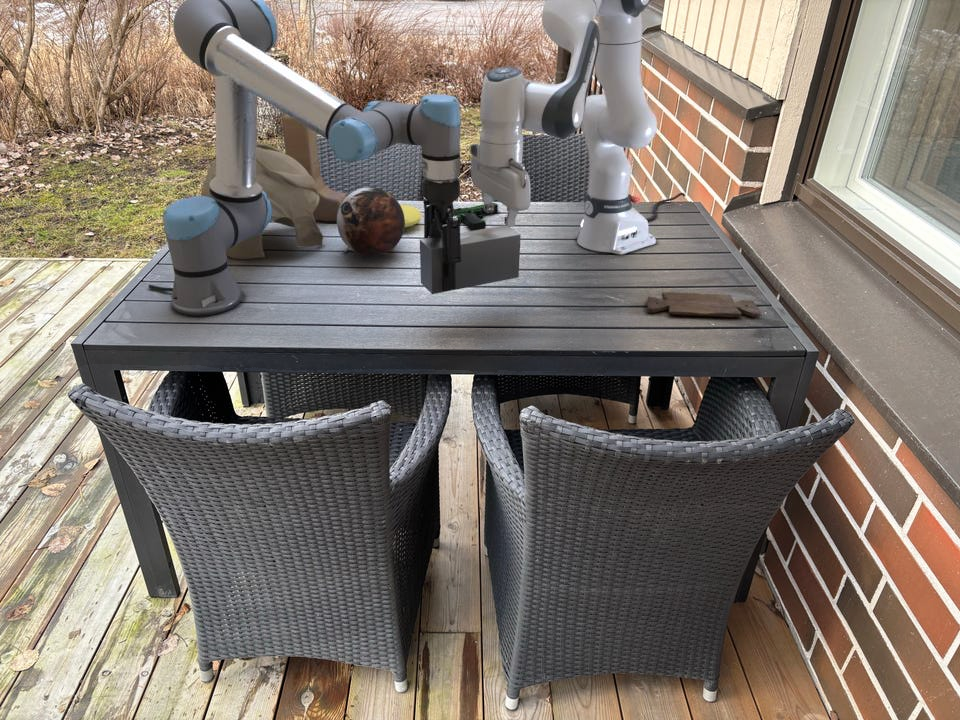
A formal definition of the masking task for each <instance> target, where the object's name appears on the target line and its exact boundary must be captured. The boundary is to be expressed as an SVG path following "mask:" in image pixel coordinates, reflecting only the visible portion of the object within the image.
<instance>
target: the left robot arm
mask: <svg viewBox="0 0 960 720" xmlns="http://www.w3.org/2000/svg"><path fill="white" fill-rule="evenodd" d="M277 23H278V22H277V20H276V17H275V15H274V12H273V11H272V9H270V7H269V5H268V3H266V2H265V1H264V0H183V2H182V3H181V4H180V5H179V6H178V8H177V10H176V11H175V14H174V17H173V35H174V38H175V41H176V43H177V45H178V46H179V48H180V51H182V53H183V54H184V55H185V56H186V57H187V58H188V59H189V60H190V61H191V62H193V63H194V64H195V65H196V66H198V67H199V68H201V69H202V70H204V71H206V72H207V73H209V74H211V75H212V76H214V85H215V86H214V88H215V89H214V92H215V94H214V97H215V98H214V99H215V103H214V105H215V161H216V177H215V178H214V179H212V180H211V181H210V184H209V186H210V197H206V196H201V195H194V196H189V197H188V198H187V197H184V198H181V199H178V200H176V201H173V202H171V203H170V204H169V205H168V206H166V208H165V209H164V211H163V214H162V219H163V230H164V231H163V232H164V234H165V238H166V242H167V246H168V247H167V248H168V251H169V255H170V258H171V259H170V260H171V264H172V268H173V272H174V279H173V285H172V287H165V286H157V285H153V284H149V285H148V288H149V289H153V290H156V291H160V292H161V291H162V292H172V294H171V302H172V303H171V304H172V308H173V310H175V311H176V312H177V313H180V314H182V315H186V316H192V317H203V316H212V315H213V316H214V315H217V314H221V313H224V312H228V311H229V310H231V309H234V308H235V307H237V306H238V305H239V304H240V303H241V301H242V300H243V295H242V289H241V287H240V285H239V283H238V281H237V280H236V278H235V276H234V274H233V272H232V270H231V269H230V267H229V262H228V255H226V250H227V249H229V248H231V247H233V246H235V245H237V244H239V243H241V242H243V241H245V240H247V239H249V238H252V237H254V236H255V235H257V234H259V233H260V232H261V231H263V232H264V230H265V229H266V228H267V227H268V225H269V224H270V223H271V222H270V219H271V214H272V210H271V204H270V201H269V200H267V198H266V197H267V195H266V193H265V192H264V191H263V190H262V185H261V184H260V183H259V182H258V181H257V180H256V142H258V139H257V136H258V135H257V134H258V98H260V99H261V100H263V101H264V102H266V103H268V104H269V105H271V106H272V107H274V108H276V109H277V110H279V111H281V112H282V113H284V115H286V114H287V115H289V116H290V117H292V118H294V119H295V120H297V121H298V122H300V123H302V124H303V125H305V126H306V127H308V128H310V129H311V130H313V131H315V132H316V134H318V135H319V136H321V137H323V138H324V139H326V140H327V141H328V144H329V147H330V149H331V151H332V152H333V153H334V156H335V157H336V158H337V159H339V160H340V161H342V162H345V163H357V162H360V161H363V160H367V159H370V158H371V157H372V156H373V155H375V154H377V153H380V152H382V151H385V150H387V149H388V148H391V147H393V146H396V145H397V144H402V145H409V146H420V147H421V148H420V149H421V162H422V163H420V165H419V166H420V169H421V170H422V171H421V172H422V177H423V179H422V196H423V198H424V199H423V200H422V202H423V210H424V211H423V212H424V213H423V239H425V238H432V237H439V236H441V240H442V247H443V255H444V261H441V263H442V284H443V291H444V292H443V293H446V292H445V291H447V292H450V290H452V291H456V290H455V289H456V263H458V262H461V242H460V233H461V223H462V221H461V217H460V215H459V216H455V213H454V209H455V207H454V202H455V201H456V200H458V199H459V198H460V196H461V180H460V177H461V125H462V124H461V123H462V120H461V112H460V110H461V109H460V101H459V99H458V98H457V97H455V96H453V95H449V94H438V93H437V94H428V95H427V94H426V95H424V96H422V97H421V98H420V103H419V104H411V103H403V102H395V101H389V100H372V101H370V102H368V103H366V107H364V109H363V111H361V110H358V109H357V108H355V107H354V106H352V105H350V104H348V103H347V102H345V101H344V100H342V99H341V98H339V97H337V96H336V95H334V94H332V93H330V91H327V90H326V89H324V88H323V87H321V86H320V85H318V84H316V83H314V82H313V81H311V80H310V79H308V78H306V77H305V76H303V75H301V74H300V73H298V72H297V71H295V70H293V69H292V68H290V67H289V66H287V65H286V64H284V63H282V62H281V61H279V60H277V59H276V58H274V57H273V56H271V55H269V54H268V52H270V51H271V50H272V49H273V47H275V45H276V43H277V41H278V34H279V29H278V24H277ZM269 222H270V223H269Z"/></svg>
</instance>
